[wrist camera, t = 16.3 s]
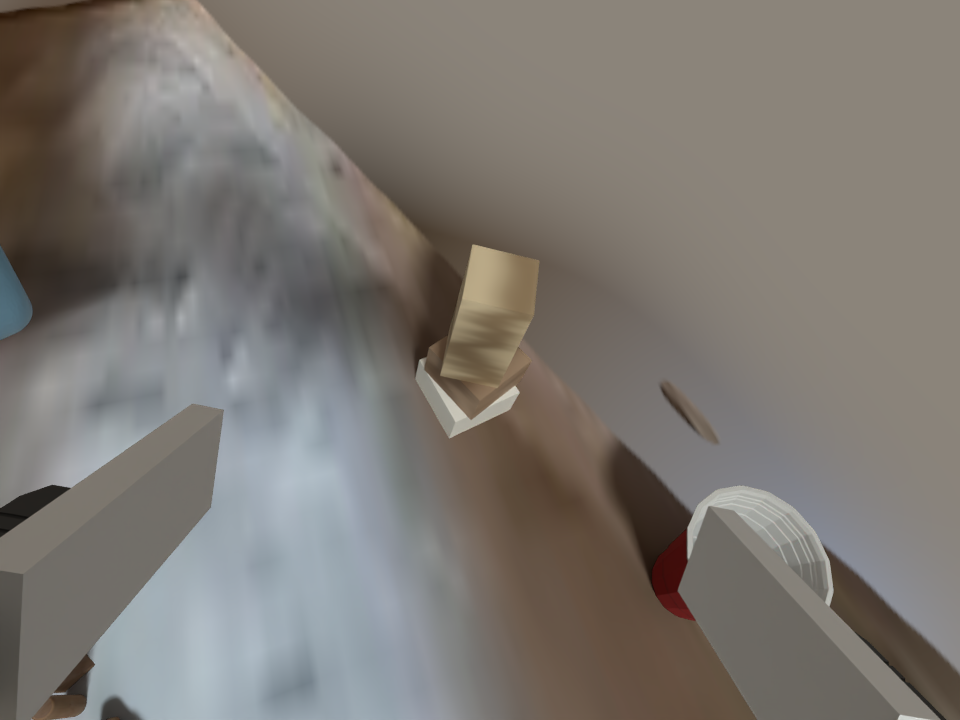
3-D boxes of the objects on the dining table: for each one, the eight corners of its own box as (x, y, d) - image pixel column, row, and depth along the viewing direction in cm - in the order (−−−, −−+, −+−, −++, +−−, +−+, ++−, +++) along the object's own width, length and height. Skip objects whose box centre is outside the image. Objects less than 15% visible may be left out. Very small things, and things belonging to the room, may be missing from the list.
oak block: (439, 375, 46) (462, 298, 37) (449, 327, 49) (472, 244, 39) (497, 388, 46) (533, 315, 37) (504, 339, 49) (539, 260, 40)
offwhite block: (415, 379, 54) (419, 359, 51) (474, 355, 57) (482, 334, 54) (448, 439, 52) (455, 422, 49) (509, 410, 55) (519, 392, 51)
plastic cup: (614, 519, 51) (679, 479, 41) (719, 525, 53) (806, 488, 43) (630, 651, 45) (711, 642, 35) (747, 652, 47) (855, 644, 37)
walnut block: (424, 369, 51) (429, 347, 47) (474, 334, 54) (482, 311, 50) (470, 420, 49) (479, 401, 46) (520, 381, 52) (531, 360, 49)
